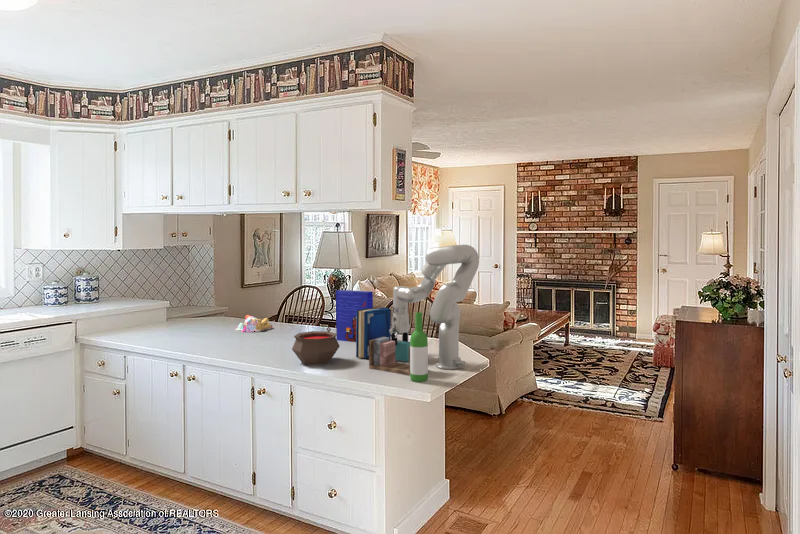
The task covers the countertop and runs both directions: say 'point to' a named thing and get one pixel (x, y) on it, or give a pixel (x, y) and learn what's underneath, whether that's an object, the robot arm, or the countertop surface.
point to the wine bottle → (418, 352)
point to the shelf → (386, 356)
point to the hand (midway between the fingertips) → (399, 343)
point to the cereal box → (350, 312)
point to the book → (371, 328)
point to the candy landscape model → (254, 324)
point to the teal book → (402, 351)
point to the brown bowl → (315, 347)
